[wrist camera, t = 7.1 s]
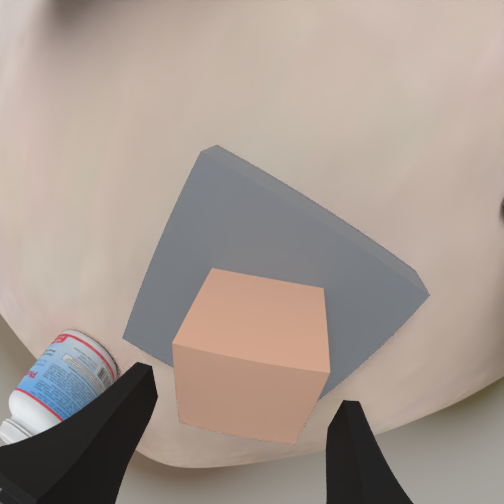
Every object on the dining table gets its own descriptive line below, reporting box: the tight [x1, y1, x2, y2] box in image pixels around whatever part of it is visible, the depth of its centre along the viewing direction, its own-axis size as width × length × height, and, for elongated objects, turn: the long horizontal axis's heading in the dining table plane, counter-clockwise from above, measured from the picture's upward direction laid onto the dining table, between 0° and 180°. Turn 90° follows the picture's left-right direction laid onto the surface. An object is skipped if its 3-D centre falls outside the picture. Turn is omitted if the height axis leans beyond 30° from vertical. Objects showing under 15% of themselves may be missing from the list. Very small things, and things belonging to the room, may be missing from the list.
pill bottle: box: [0, 330, 117, 445], centre depth 17 cm, size 6×6×11 cm
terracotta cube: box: [172, 268, 330, 445], centre depth 12 cm, size 5×5×5 cm
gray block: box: [123, 145, 430, 401], centre depth 16 cm, size 12×12×3 cm
